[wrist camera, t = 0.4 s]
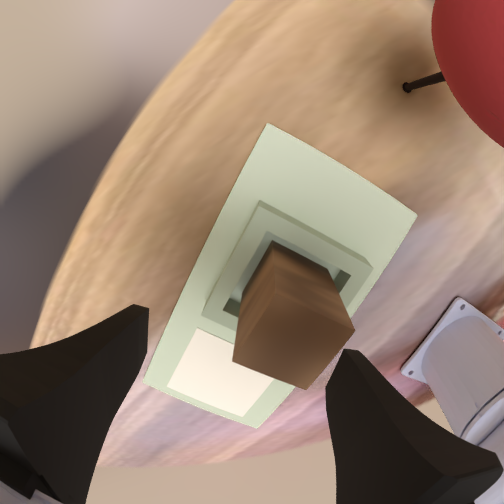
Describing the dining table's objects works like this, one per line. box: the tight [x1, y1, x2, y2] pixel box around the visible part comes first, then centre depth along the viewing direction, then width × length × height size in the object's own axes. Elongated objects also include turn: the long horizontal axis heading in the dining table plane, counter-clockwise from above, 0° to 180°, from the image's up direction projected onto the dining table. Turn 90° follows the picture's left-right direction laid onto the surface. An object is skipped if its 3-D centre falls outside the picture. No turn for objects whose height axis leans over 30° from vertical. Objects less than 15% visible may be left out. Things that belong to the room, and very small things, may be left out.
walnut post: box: [232, 240, 355, 390], centre depth 16 cm, size 4×4×7 cm
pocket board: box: [143, 123, 418, 429], centre depth 20 cm, size 11×22×2 cm, turn 153°
